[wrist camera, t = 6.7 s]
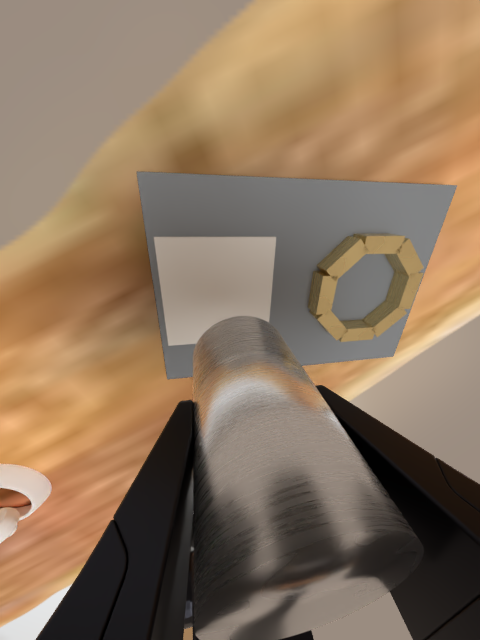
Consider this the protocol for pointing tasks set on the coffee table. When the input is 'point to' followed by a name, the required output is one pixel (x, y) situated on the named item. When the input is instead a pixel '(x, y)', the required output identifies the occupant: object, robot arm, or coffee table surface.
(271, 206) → the board
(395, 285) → the brass octagonal ring
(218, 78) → the coffee table surface
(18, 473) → the hook
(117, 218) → the coffee table surface
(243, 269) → the mat
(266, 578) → the peg
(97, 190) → the coffee table surface
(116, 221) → the coffee table surface
